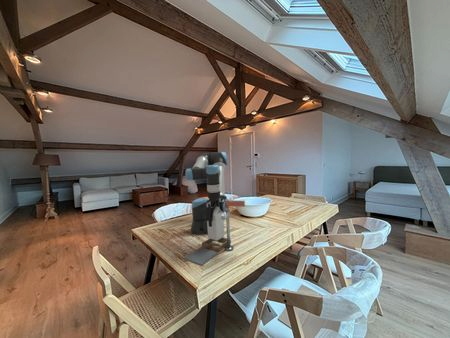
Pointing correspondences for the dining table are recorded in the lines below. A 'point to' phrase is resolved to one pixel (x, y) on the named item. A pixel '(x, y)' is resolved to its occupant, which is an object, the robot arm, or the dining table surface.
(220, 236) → the milk carton
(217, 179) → the robot arm
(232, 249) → the base
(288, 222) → the dining table surface
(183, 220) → the dining table surface
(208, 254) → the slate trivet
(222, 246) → the frame
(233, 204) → the signpost
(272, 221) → the dining table surface
